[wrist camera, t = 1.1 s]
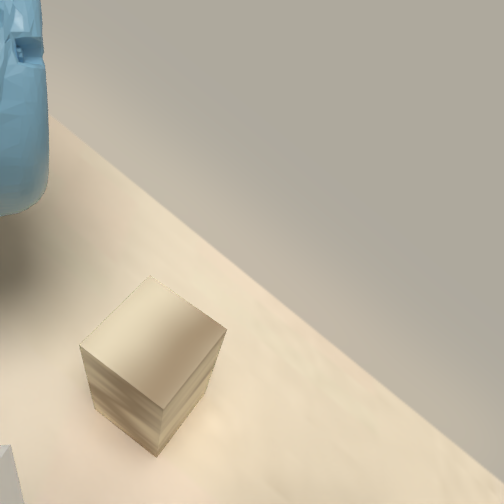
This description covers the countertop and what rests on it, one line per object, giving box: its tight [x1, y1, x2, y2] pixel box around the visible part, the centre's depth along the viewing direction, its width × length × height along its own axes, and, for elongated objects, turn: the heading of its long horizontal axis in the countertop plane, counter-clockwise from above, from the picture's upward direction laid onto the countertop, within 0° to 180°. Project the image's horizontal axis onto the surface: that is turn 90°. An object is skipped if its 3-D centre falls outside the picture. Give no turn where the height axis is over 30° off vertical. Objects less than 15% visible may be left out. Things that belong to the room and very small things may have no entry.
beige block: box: [79, 276, 227, 458], centre depth 27 cm, size 5×5×10 cm
